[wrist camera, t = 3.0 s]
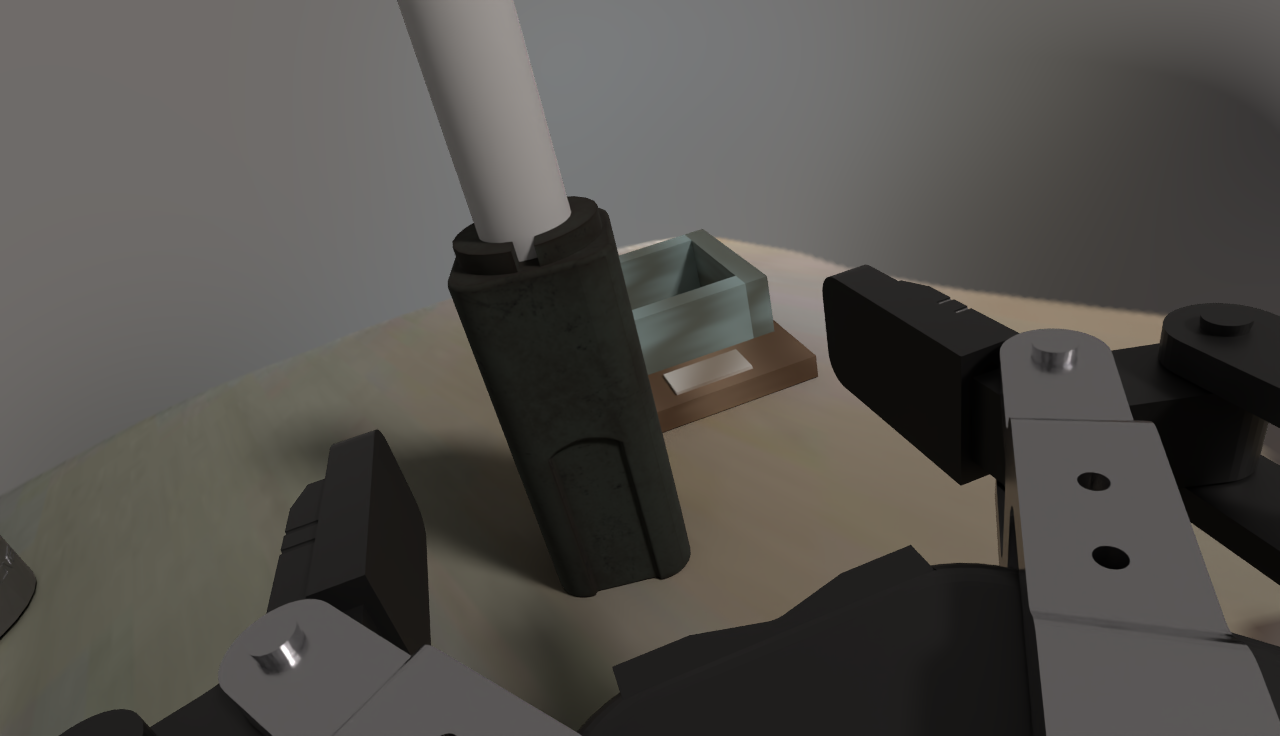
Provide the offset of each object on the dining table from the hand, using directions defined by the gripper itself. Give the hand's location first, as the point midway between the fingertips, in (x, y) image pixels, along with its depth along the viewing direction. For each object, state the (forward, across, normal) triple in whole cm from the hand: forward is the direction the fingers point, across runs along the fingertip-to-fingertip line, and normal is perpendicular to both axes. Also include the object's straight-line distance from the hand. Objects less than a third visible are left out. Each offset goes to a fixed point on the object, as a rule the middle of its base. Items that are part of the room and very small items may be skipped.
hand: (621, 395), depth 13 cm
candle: (+11, 0, +13) cm, 18 cm away
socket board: (+26, -5, +13) cm, 30 cm away
